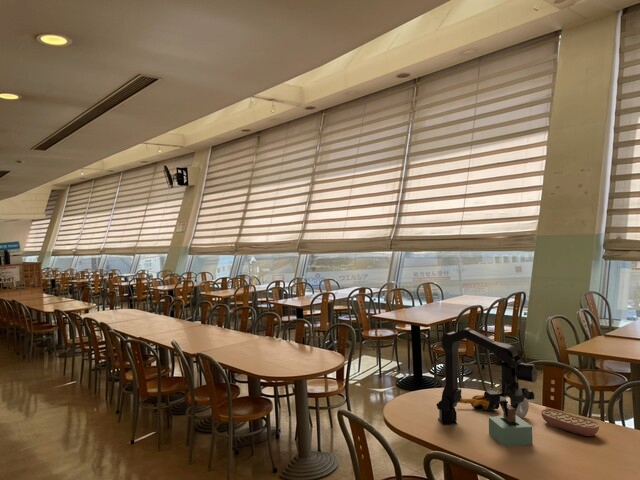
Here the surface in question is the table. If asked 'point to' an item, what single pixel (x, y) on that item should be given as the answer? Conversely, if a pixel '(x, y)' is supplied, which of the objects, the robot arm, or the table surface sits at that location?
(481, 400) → the fried shrimp in bowl
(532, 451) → the table surface
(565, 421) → the pink mitochondrion model
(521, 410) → the donut
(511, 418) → the rectangular block
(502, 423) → the box
